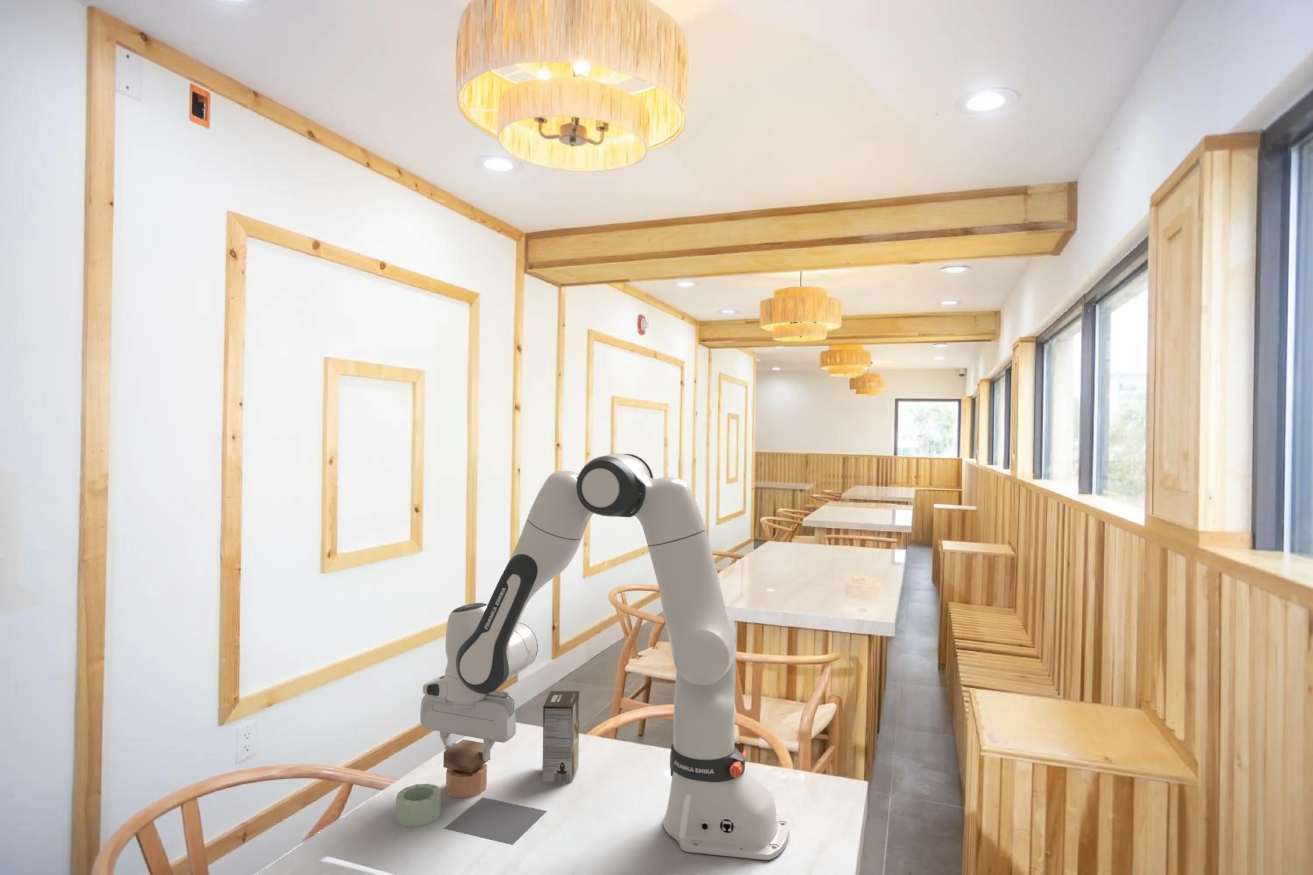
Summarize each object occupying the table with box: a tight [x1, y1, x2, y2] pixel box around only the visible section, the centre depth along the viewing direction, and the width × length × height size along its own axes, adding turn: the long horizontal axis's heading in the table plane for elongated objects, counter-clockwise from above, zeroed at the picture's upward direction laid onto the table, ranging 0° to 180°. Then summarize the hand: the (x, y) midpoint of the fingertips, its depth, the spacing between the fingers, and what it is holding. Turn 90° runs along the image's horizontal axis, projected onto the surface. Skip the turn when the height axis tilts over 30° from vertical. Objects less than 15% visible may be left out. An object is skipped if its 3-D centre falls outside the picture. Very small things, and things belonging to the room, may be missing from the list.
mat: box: [443, 796, 548, 845], centre depth 132 cm, size 14×12×1 cm
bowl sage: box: [395, 783, 442, 828], centre depth 133 cm, size 8×8×4 cm
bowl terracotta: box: [445, 763, 488, 799], centre depth 143 cm, size 8×8×4 cm
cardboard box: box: [442, 739, 491, 773], centre depth 143 cm, size 6×6×3 cm
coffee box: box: [541, 690, 580, 784], centre depth 151 cm, size 9×6×16 cm
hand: (467, 756), depth 143 cm, fingers closed on cardboard box, 6 cm apart
